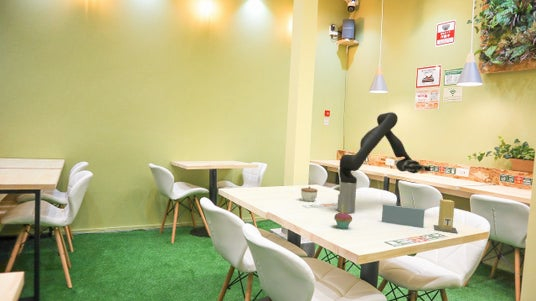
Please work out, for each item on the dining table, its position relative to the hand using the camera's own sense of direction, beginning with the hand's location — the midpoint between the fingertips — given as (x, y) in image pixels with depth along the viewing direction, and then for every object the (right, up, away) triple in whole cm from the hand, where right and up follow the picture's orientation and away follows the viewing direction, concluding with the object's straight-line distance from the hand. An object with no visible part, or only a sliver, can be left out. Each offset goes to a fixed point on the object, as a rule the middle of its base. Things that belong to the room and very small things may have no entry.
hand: (420, 168), depth 195 cm
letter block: (+4, -29, -20) cm, 35 cm away
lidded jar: (-57, -23, +38) cm, 73 cm away
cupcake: (-49, -27, -27) cm, 62 cm away
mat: (+4, -29, -20) cm, 35 cm away
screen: (-15, -28, -14) cm, 35 cm away
